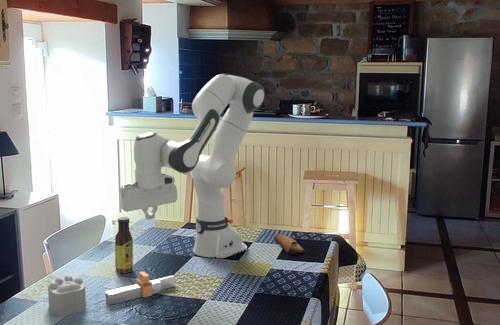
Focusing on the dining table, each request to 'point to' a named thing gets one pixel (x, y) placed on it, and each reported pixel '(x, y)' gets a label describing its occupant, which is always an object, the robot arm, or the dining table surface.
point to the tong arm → (131, 293)
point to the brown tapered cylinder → (288, 243)
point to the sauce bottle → (123, 247)
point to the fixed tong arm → (165, 282)
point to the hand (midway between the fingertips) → (150, 218)
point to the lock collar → (145, 284)
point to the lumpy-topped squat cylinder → (66, 295)
